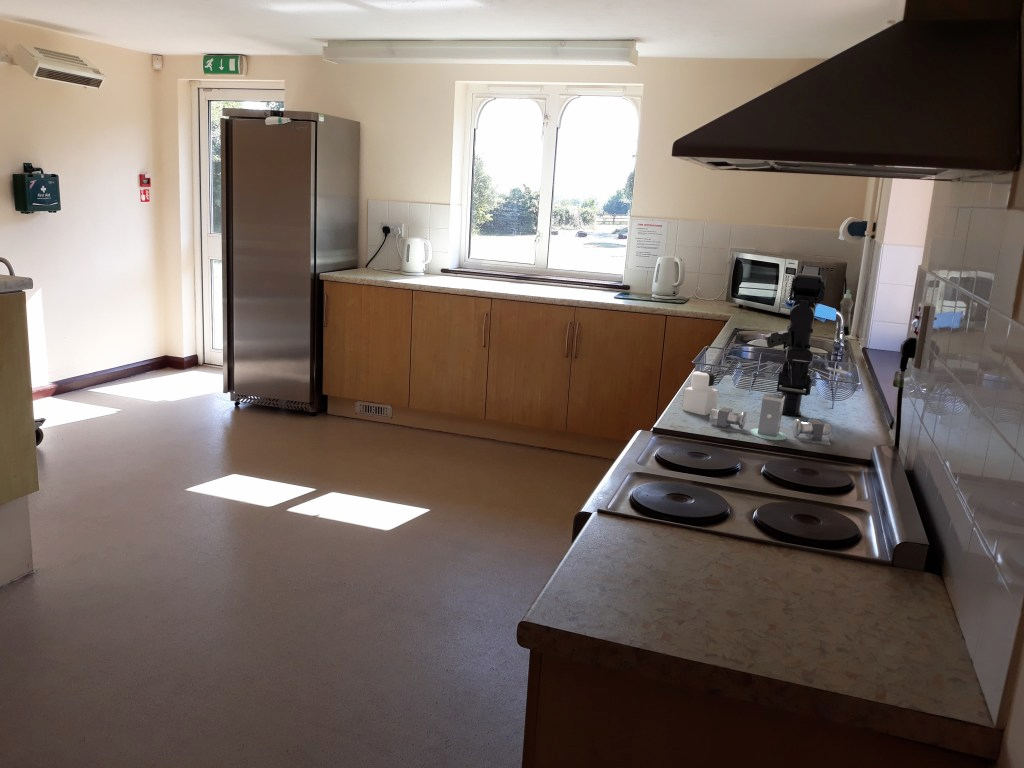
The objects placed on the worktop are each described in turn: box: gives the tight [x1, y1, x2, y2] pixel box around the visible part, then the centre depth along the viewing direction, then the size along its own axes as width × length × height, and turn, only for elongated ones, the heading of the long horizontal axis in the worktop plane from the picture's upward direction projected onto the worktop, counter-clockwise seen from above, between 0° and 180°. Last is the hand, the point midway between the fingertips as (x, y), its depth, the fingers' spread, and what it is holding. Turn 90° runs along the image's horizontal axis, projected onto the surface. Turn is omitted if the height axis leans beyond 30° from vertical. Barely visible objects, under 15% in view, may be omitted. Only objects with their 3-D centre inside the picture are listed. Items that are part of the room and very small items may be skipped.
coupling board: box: [707, 417, 832, 446], centre depth 211 cm, size 14×30×1 cm, turn 75°
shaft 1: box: [709, 406, 747, 429], centre depth 213 cm, size 8×5×5 cm, turn 60°
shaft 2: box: [791, 418, 832, 441], centre depth 208 cm, size 8×5×5 cm, turn 90°
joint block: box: [758, 392, 785, 437], centre depth 208 cm, size 5×5×10 cm
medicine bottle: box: [681, 370, 719, 416], centre depth 227 cm, size 7×7×12 cm
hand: (792, 381), depth 217 cm, fingers open, 9 cm apart
